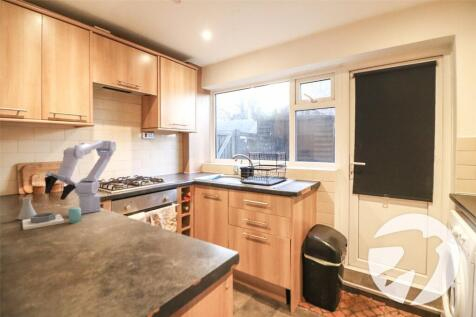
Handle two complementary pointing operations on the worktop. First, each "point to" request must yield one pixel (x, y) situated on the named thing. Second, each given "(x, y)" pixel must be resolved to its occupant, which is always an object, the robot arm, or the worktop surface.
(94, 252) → the worktop surface
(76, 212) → the cap
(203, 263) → the worktop surface
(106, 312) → the worktop surface
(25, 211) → the flask
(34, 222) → the mount
